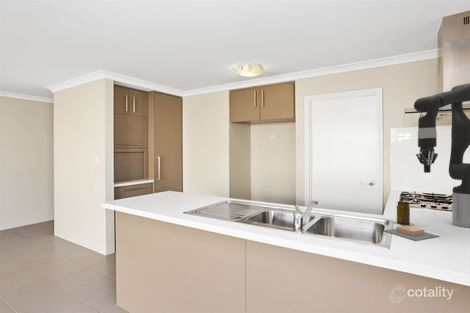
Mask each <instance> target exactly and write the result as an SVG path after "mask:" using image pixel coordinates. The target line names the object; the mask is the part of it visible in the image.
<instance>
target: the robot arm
mask: <svg viewBox="0 0 470 313" xmlns="http://www.w3.org/2000/svg"><path fill="white" fill-rule="evenodd" d="M465 102H470V83H465V84H460V85H459V84H458V85H455V86H453V87H452V88H451V90H449V91H448V90H447V91H443V92H438V93H436V94H434V95H433V94H432V95H430V96H425V97H420V98H417V99H416V100H415V102H414V104H413V108H414V110H415V111H417V112H418V113H424V112H426V114H425V115H423V116H420V117H419V118H418V121H417V122H418V123H417V124H418V127H417V128H418V129H417V130H418V131H417V147H418V148H419V152H418V153H416V154H415V156H416V157H417V160H418V161H419V163H420V164H421V165H423V172H424V173H427V174H429V173H431V171H432V170H431V168H432V167H431V166H432V165H433V164H434V163H435V162H436V160H437V157H438V155H439V154H438V153H436V152H435V148H436V147H437V138H438V137H437V136H438V134H437V127H436V126H437V125H436V124H437V118H438V117H437V116H438V114H439V111H440V108H443V107H446V106H449V105H450V107H451V109H450V110H451V127H450V128H451V130H450V133H451V134H450V137H451V140H450V141H451V143H450V144H451V145H450V157H449V162H448V175H449V177H450V178H451V179H452V180H455V181H461V183H460V184H459V185H456V186H453V187H452V216H451V217H452V219H451V221H452V223H451V224H452V225H454V226H458V227H464V228H470V163H469V162H468V163H467V162H465V163H464V155H465V152H466V151H467V149H468V148H469V147H470V118H469V117H468V116H467V115H466V113H465V111H464V108H463V103H465Z"/></svg>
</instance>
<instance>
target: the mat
mask: <svg viewBox="0 0 470 313" xmlns="http://www.w3.org/2000/svg"><path fill="white" fill-rule="evenodd" d="M382 232H384V233H388V234H391V235H394V236H398V237H401V238H405V239H408V240H410V241H413V242H417V241H422V240H423V241H424V240H430V239H435V237H436V238H440V235H437V234H433V233H429V232H426V231H424V234H423V235H417V236H410V235H406V234H403V233H399V232H396V228H391V229H384V230H383V231H382ZM429 238H430V239H429Z"/></svg>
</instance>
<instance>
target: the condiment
mask: <svg viewBox="0 0 470 313" xmlns="http://www.w3.org/2000/svg"><path fill="white" fill-rule="evenodd" d="M410 210H411V207H410V202H409V201H404V200H398V201H397V205H396V221H393V223H394V224H397V223H398V225H400V226H406V225H409V226H412V227H414V226H416V224H414V223H411V222H410V221H411V216H410V215H411V214H410V213H411V211H410ZM395 222H397V223H395ZM402 224H404V225H402ZM410 224H411V225H410Z"/></svg>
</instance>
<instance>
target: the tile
mask: <svg viewBox="0 0 470 313" xmlns="http://www.w3.org/2000/svg"><path fill="white" fill-rule="evenodd" d="M395 229H396V232H399V233H403V234H406V235H410V236H417V235H423V234H424V232H425V229H424V228H420V227H415V226H409V225H406V226H405V225H400V226H396V228H395Z"/></svg>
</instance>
